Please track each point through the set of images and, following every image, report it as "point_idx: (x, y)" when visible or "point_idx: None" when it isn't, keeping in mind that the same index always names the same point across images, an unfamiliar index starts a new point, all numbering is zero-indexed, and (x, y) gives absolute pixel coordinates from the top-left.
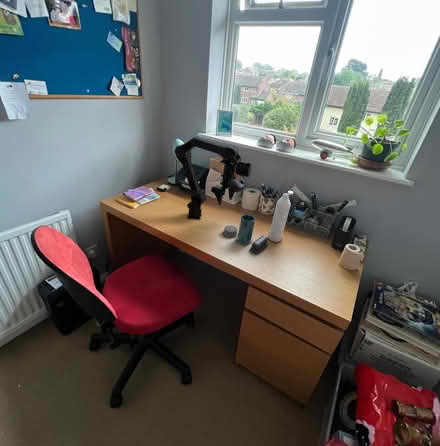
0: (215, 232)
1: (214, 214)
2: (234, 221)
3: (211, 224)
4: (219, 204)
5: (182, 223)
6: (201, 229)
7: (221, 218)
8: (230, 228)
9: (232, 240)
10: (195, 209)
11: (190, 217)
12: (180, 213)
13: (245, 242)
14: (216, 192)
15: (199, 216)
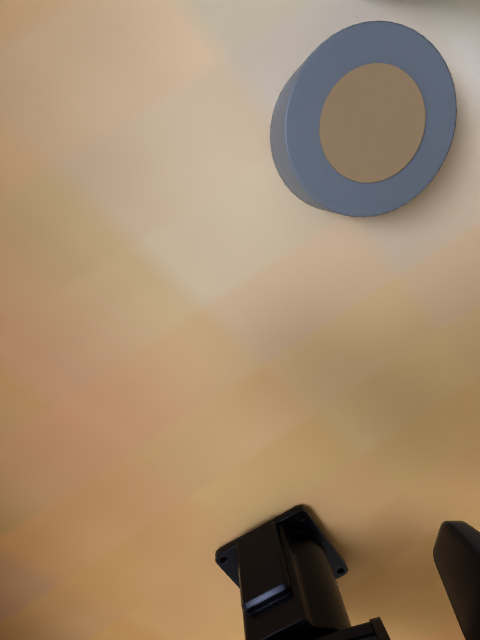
0: (409, 273)
1: (114, 479)
2: (60, 252)
3: (302, 386)
4: (455, 541)
5: None
6: (436, 393)
7: (125, 390)
8: (379, 129)
9: (451, 30)
10: (383, 626)
11: (338, 560)
12: None
13: None
14: None
15: (284, 530)
